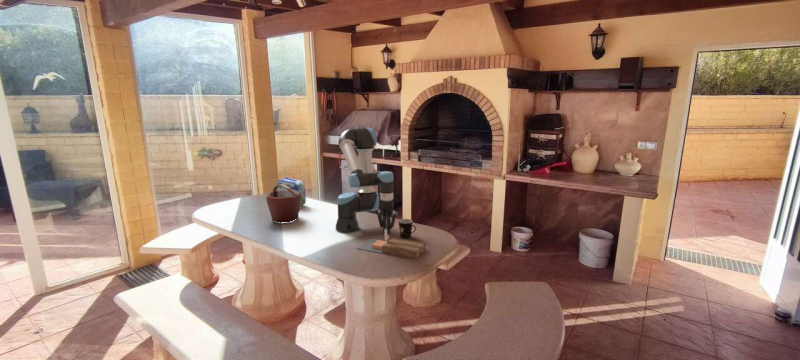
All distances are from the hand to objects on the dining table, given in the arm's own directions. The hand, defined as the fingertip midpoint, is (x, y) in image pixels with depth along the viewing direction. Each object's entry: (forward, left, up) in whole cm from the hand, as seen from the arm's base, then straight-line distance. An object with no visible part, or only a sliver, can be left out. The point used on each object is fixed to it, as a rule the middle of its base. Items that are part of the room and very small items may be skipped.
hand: (386, 239), depth 218 cm
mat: (0, -7, -5) cm, 9 cm away
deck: (0, +11, -5) cm, 12 cm away
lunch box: (-47, -107, -6) cm, 117 cm away
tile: (0, -4, -5) cm, 6 cm away
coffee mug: (-20, +4, -6) cm, 21 cm away
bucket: (-15, -87, -6) cm, 88 cm away
